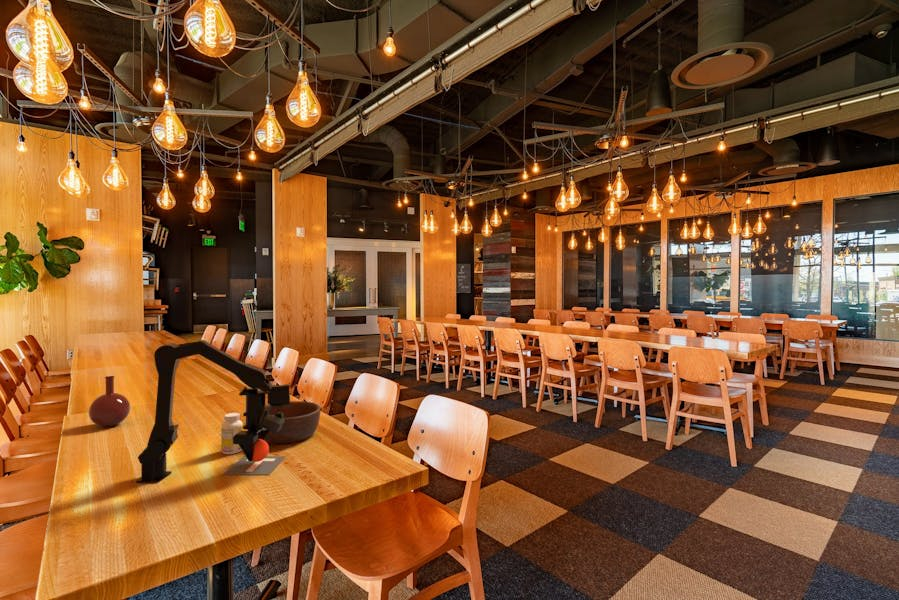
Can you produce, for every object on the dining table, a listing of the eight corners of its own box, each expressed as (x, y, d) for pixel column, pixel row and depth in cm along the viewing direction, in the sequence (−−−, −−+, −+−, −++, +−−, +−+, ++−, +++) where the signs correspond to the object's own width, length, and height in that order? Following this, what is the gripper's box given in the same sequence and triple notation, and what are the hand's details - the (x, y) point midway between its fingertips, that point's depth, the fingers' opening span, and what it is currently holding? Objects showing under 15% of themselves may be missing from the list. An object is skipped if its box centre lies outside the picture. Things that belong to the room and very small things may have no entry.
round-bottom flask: (88, 425, 174) (87, 376, 173) (128, 419, 182) (128, 372, 182) (89, 433, 164) (88, 381, 163) (131, 426, 173) (131, 377, 172)
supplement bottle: (239, 446, 153) (239, 410, 152) (245, 451, 148) (245, 414, 147) (219, 450, 148) (219, 414, 148) (224, 456, 143) (224, 418, 143)
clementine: (239, 466, 132) (239, 444, 132) (243, 458, 139) (243, 436, 138) (267, 464, 134) (267, 441, 134) (270, 456, 141) (270, 434, 141)
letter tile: (269, 475, 130) (269, 474, 130) (222, 475, 129) (222, 474, 129) (285, 456, 144) (285, 456, 144) (243, 456, 143) (243, 456, 143)
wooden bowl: (262, 453, 147) (262, 423, 147) (243, 433, 166) (243, 407, 166) (331, 437, 163) (331, 411, 163) (306, 421, 182) (306, 397, 182)
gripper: (269, 416, 127) (269, 468, 127) (291, 400, 146) (290, 445, 146) (231, 416, 127) (231, 468, 127) (258, 400, 145) (257, 445, 146)
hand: (255, 456), depth 136 cm, fingers closed on clementine, 7 cm apart
